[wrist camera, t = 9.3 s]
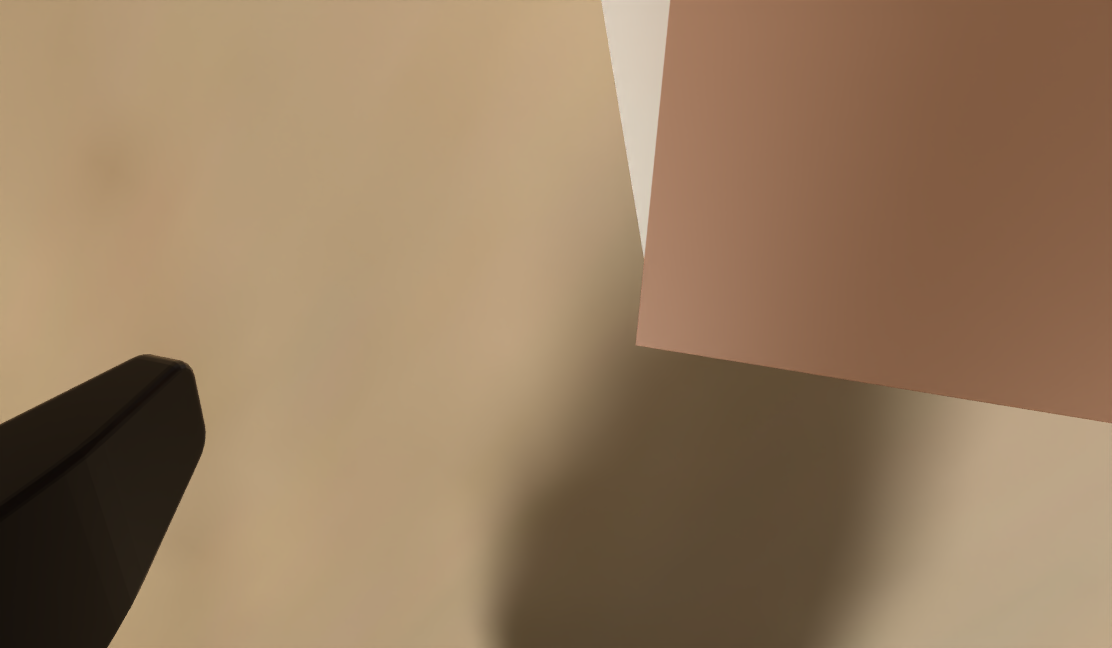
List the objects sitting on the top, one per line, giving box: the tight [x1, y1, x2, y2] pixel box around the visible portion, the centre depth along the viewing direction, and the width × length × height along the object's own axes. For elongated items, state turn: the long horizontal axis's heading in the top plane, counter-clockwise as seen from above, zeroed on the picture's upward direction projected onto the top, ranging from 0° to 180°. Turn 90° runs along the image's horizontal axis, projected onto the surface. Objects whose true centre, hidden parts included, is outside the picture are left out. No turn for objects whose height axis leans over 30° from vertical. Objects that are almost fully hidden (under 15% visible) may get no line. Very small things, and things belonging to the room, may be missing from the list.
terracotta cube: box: [636, 0, 1112, 423], centre depth 10 cm, size 5×5×5 cm
